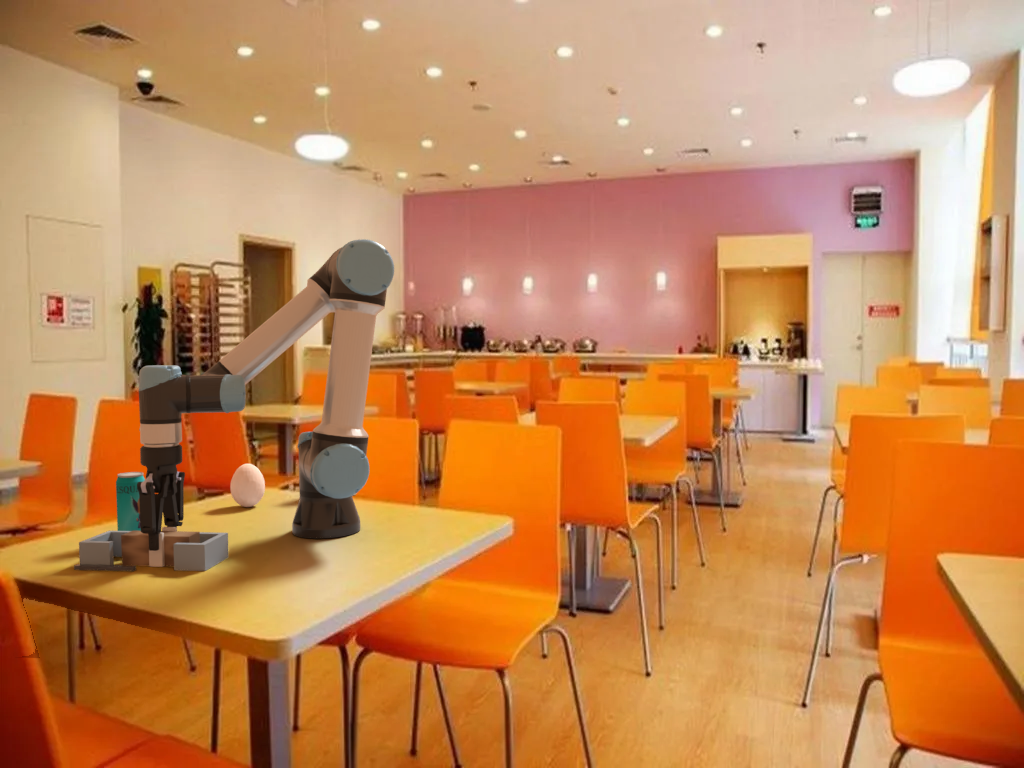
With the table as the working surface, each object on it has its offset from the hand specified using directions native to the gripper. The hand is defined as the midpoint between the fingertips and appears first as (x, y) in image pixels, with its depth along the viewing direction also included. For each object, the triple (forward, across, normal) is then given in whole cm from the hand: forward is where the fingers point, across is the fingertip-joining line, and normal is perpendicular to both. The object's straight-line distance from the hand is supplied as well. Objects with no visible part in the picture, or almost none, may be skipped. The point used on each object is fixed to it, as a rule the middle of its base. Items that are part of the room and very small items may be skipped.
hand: (163, 562), depth 158 cm
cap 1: (0, 0, -11) cm, 11 cm away
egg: (0, -53, -7) cm, 54 cm away
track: (0, 0, -9) cm, 9 cm away
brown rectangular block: (0, 0, 0) cm, 0 cm away
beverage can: (0, -15, -16) cm, 22 cm away
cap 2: (0, 0, +7) cm, 7 cm away
